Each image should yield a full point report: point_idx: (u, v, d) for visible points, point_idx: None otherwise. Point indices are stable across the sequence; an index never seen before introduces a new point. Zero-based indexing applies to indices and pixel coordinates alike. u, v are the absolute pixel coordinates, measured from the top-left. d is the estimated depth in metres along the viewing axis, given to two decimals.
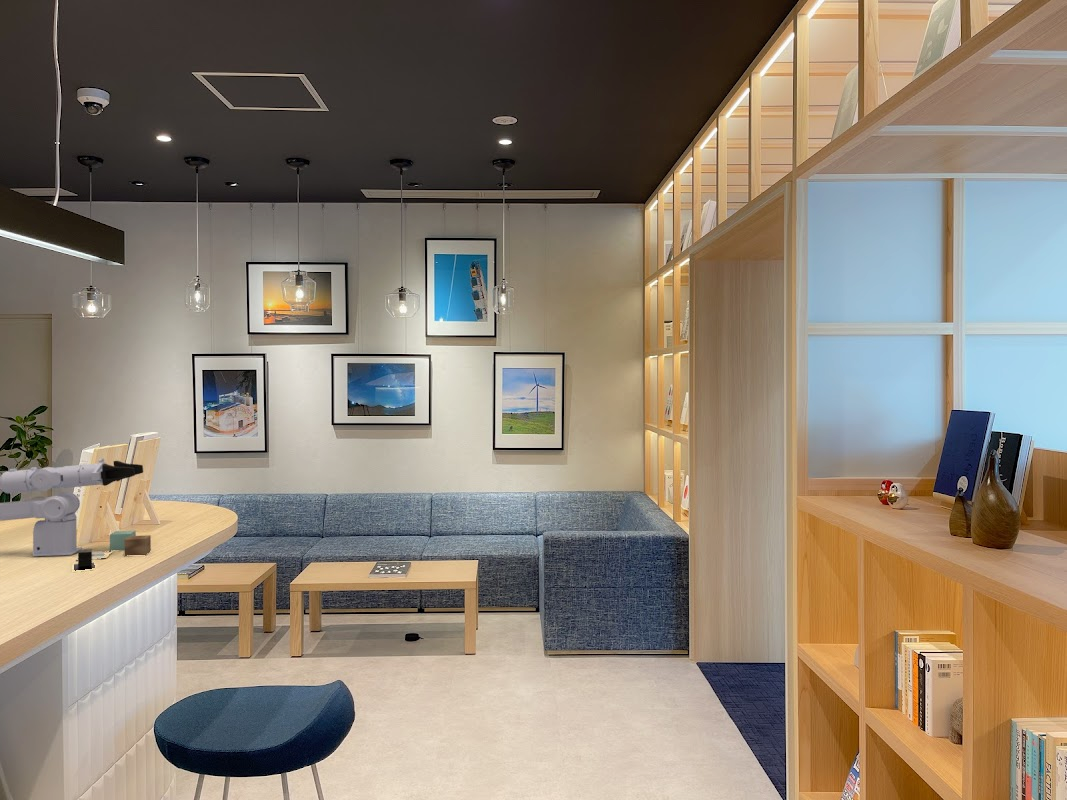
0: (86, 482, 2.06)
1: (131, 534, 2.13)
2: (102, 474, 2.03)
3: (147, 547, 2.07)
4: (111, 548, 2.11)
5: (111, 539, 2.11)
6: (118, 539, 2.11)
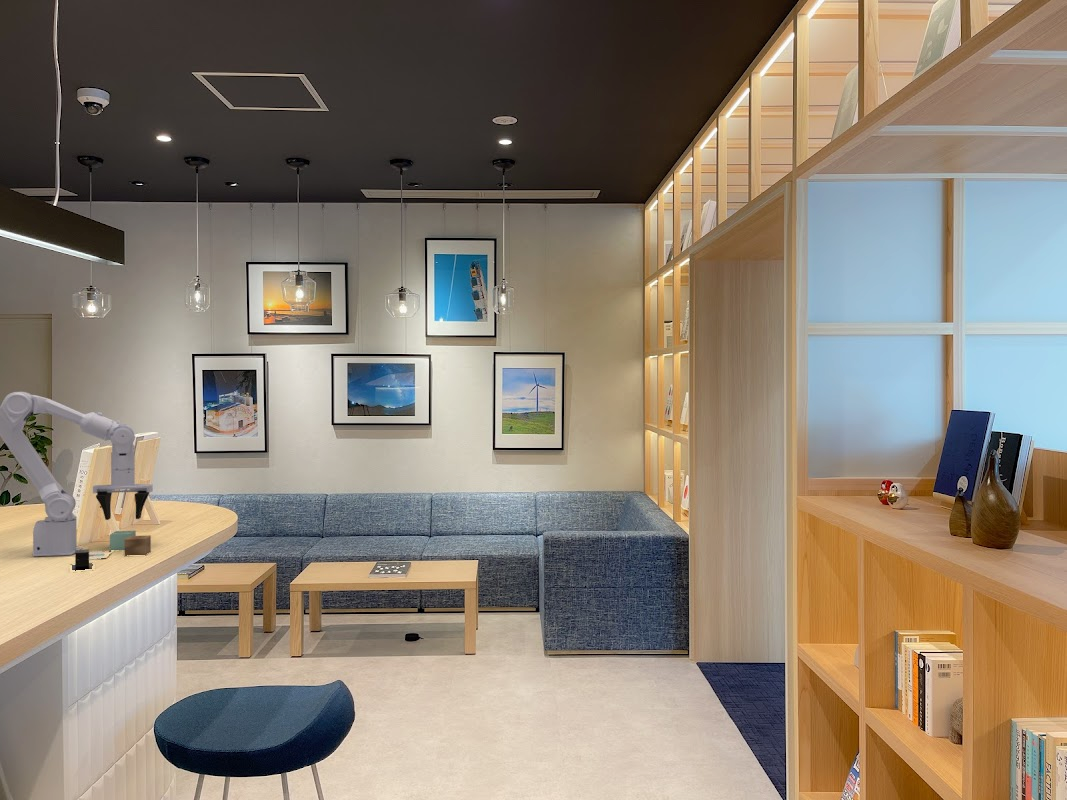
0: (129, 474, 2.12)
1: (131, 534, 2.13)
2: (147, 493, 2.15)
3: (147, 547, 2.07)
4: (111, 548, 2.11)
5: (111, 539, 2.11)
6: (118, 539, 2.11)
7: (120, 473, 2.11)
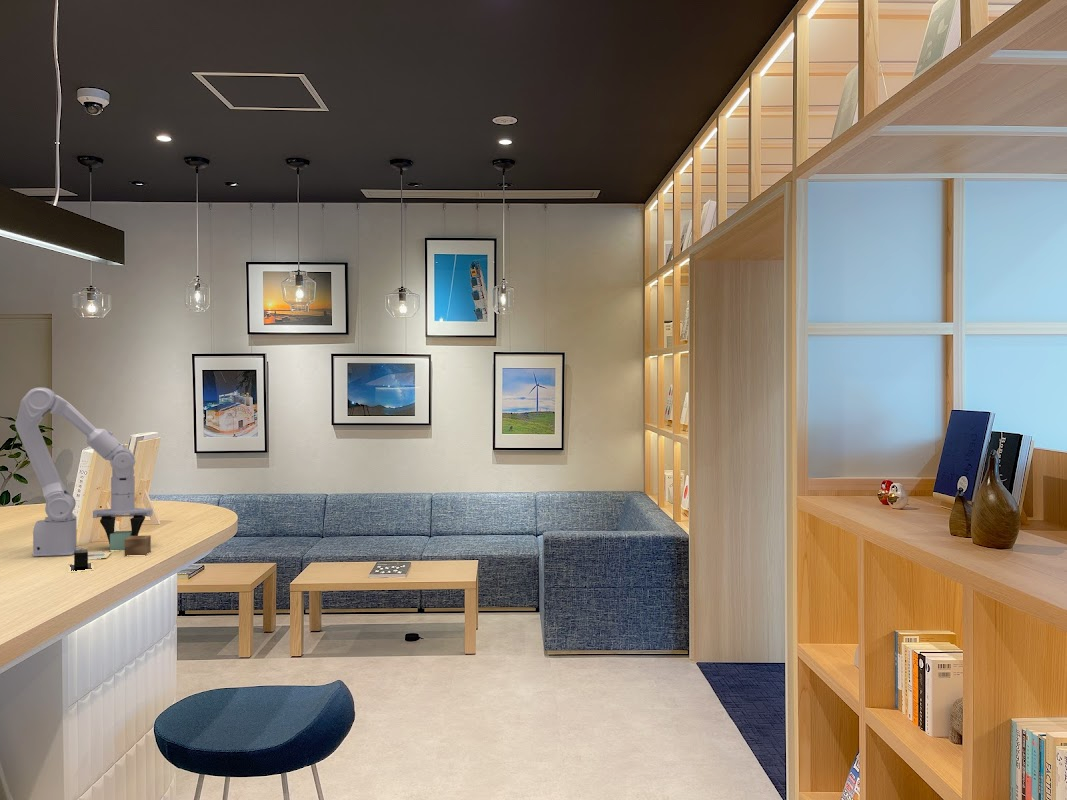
0: (129, 499, 2.12)
1: (131, 533, 2.13)
2: (143, 517, 2.15)
3: (147, 547, 2.07)
4: (111, 548, 2.11)
5: (111, 539, 2.11)
6: (118, 539, 2.11)
7: (120, 498, 2.11)
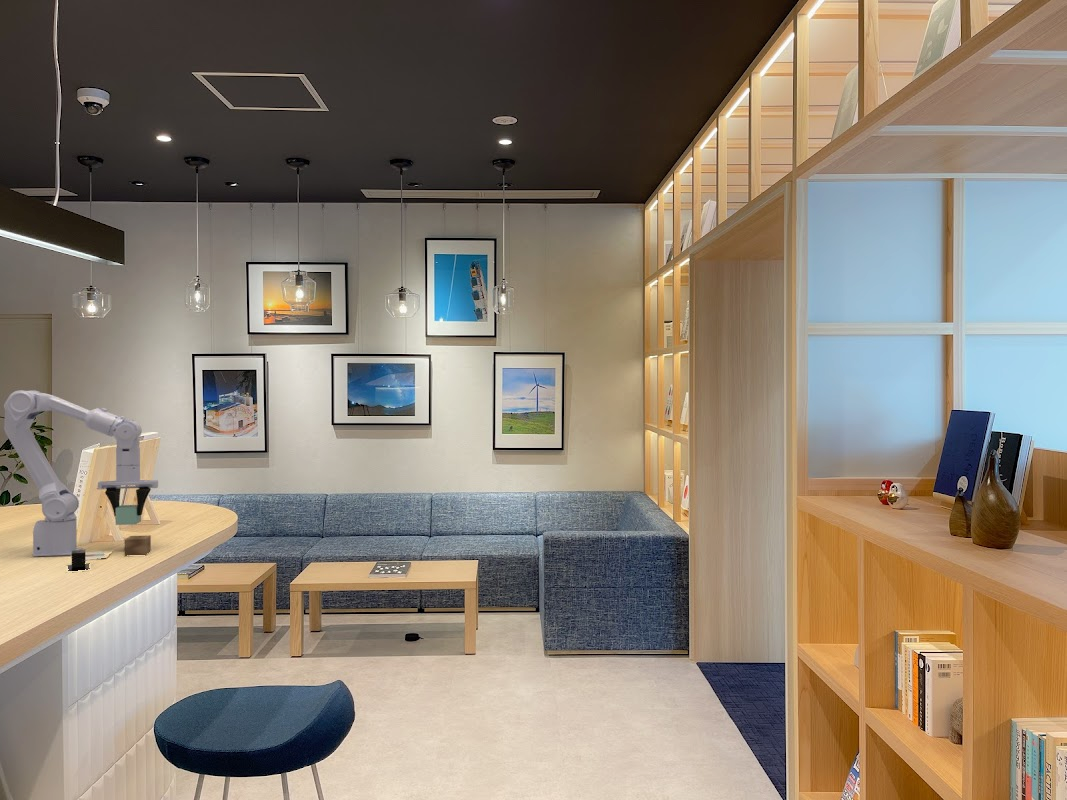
0: (135, 470, 2.10)
1: None
2: (149, 489, 2.12)
3: (147, 547, 2.07)
4: (117, 522, 2.09)
5: (117, 513, 2.09)
6: (124, 513, 2.09)
7: (125, 469, 2.08)
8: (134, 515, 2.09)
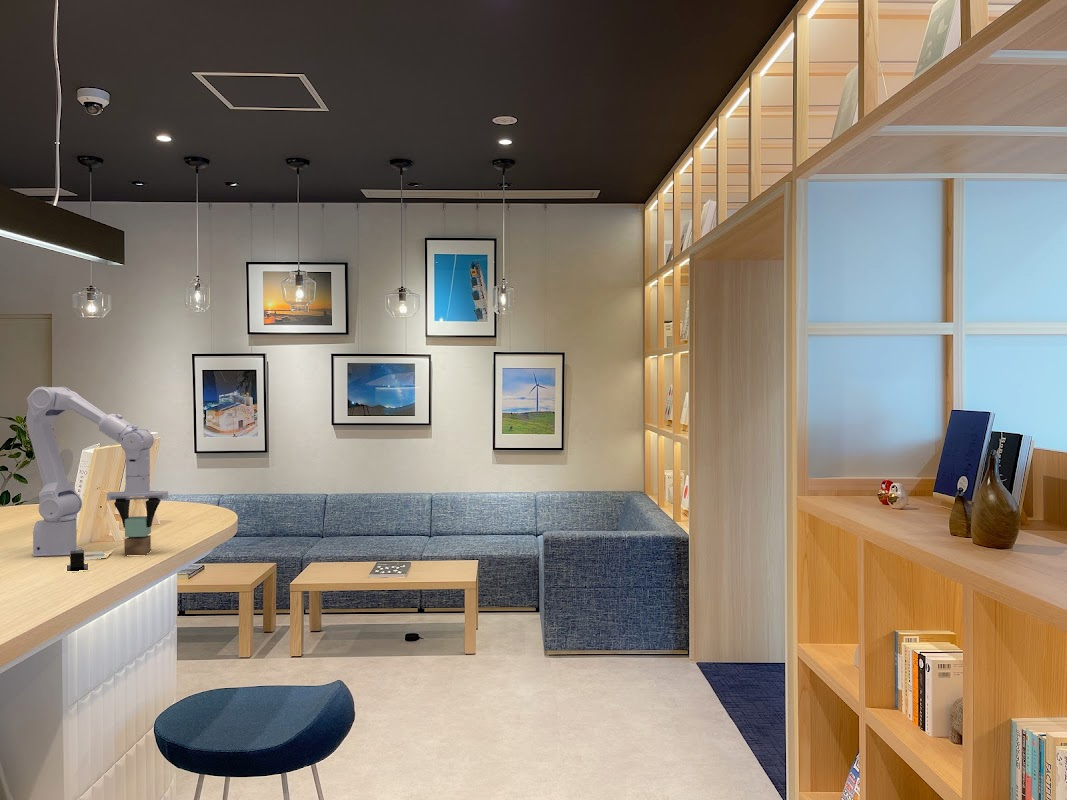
0: (144, 481, 2.05)
1: None
2: (158, 500, 2.08)
3: (147, 547, 2.07)
4: (126, 534, 2.04)
5: (126, 524, 2.04)
6: (133, 525, 2.05)
7: (135, 480, 2.04)
8: (144, 527, 2.05)
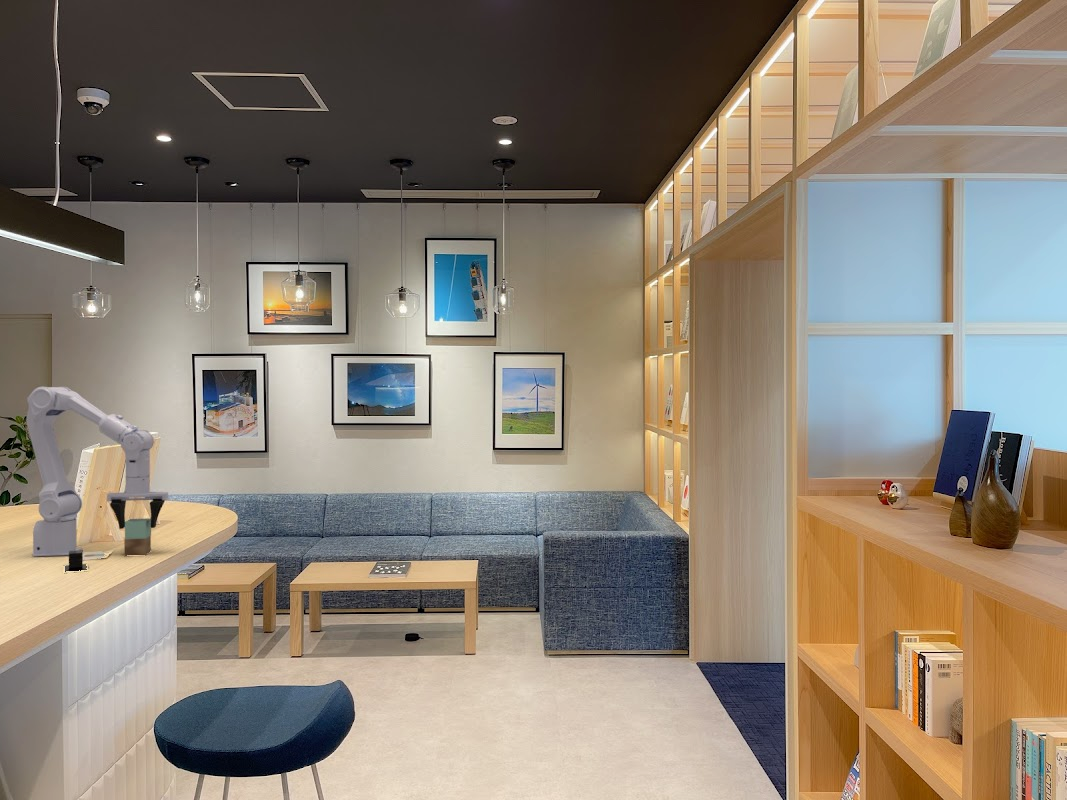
0: (144, 482, 2.05)
1: (147, 521, 2.07)
2: (162, 501, 2.08)
3: (147, 547, 2.07)
4: (126, 536, 2.04)
5: (126, 527, 2.04)
6: (133, 527, 2.05)
7: (135, 480, 2.04)
8: (143, 529, 2.05)
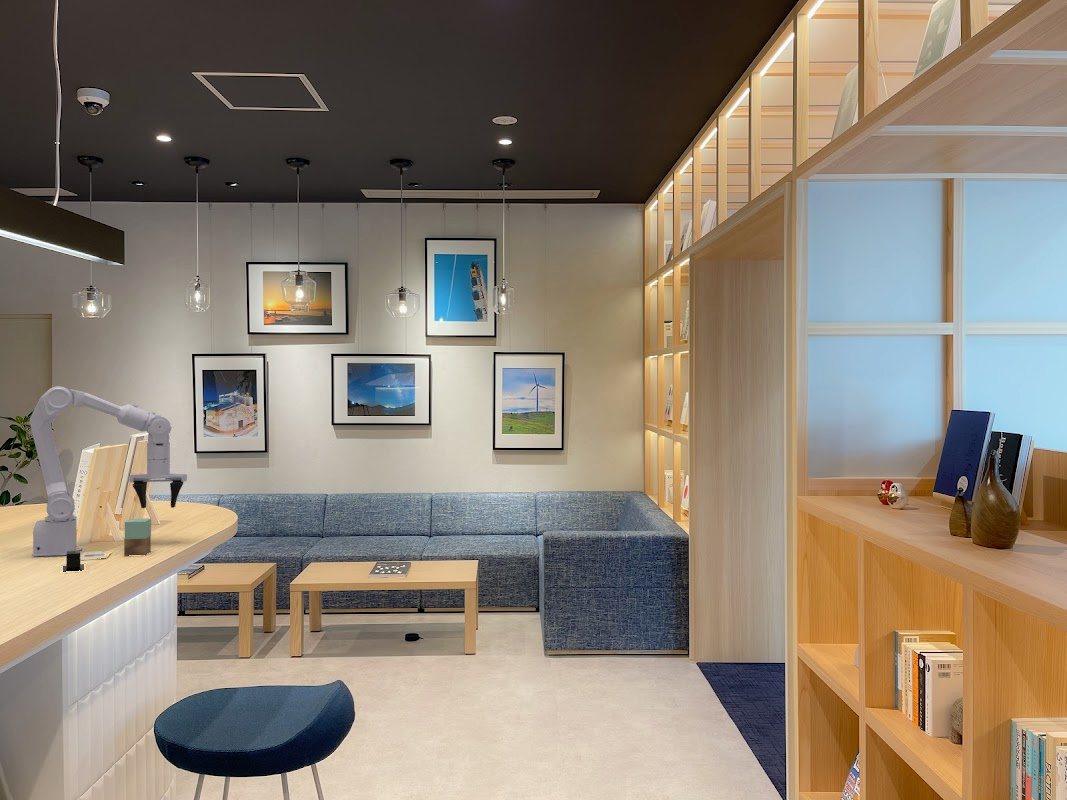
0: (165, 464, 2.18)
1: (146, 521, 2.06)
2: (182, 482, 2.20)
3: (147, 547, 2.07)
4: (126, 536, 2.04)
5: (126, 527, 2.04)
6: (133, 527, 2.04)
7: (156, 463, 2.16)
8: (143, 529, 2.05)
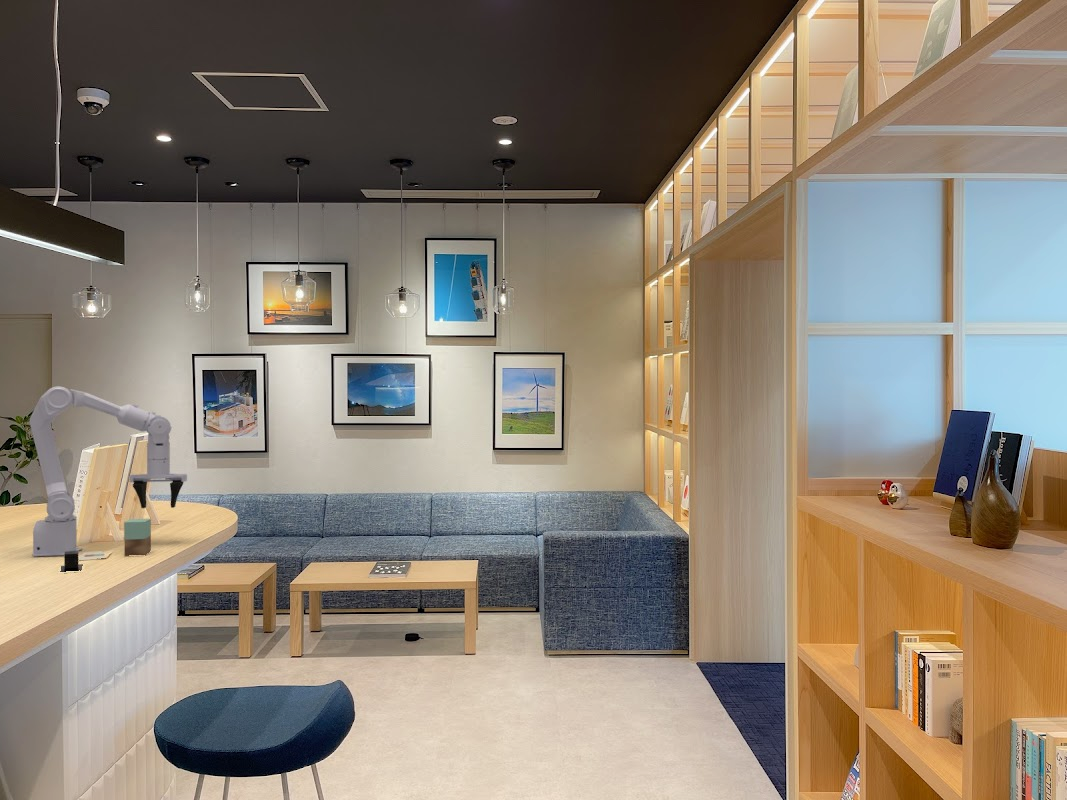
0: (165, 464, 2.18)
1: (146, 522, 2.06)
2: (182, 482, 2.20)
3: (147, 547, 2.07)
4: (125, 536, 2.04)
5: (125, 527, 2.04)
6: (132, 527, 2.04)
7: (156, 463, 2.16)
8: (143, 529, 2.05)
